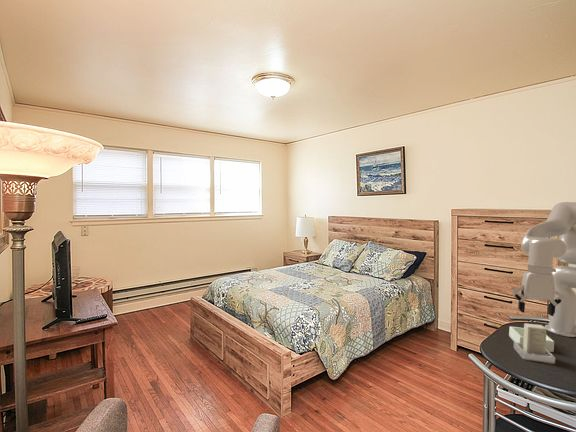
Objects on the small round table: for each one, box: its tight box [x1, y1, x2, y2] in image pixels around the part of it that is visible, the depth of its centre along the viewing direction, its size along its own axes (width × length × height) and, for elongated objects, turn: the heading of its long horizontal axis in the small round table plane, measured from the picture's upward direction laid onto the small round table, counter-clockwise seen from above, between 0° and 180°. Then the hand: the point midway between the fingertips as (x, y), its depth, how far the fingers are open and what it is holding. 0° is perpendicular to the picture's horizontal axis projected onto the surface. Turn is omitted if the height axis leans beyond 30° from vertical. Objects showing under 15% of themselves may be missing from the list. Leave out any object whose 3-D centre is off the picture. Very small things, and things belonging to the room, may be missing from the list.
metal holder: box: [513, 341, 556, 365], centre depth 127 cm, size 10×10×2 cm
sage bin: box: [508, 326, 555, 353], centre depth 138 cm, size 12×12×4 cm
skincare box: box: [523, 322, 548, 355], centre depth 127 cm, size 6×4×12 cm
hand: (535, 313), depth 126 cm, fingers open, 9 cm apart
